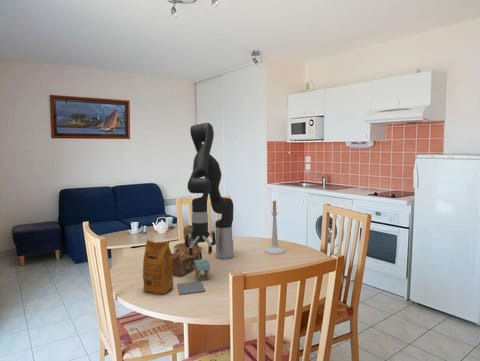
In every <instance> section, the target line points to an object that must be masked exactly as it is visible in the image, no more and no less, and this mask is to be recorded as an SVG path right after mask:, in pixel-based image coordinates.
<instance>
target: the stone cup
mask: <svg viewBox="0 0 480 361" xmlns="http://www.w3.org/2000/svg"><path fill="white" fill-rule="evenodd" d="M186 233H187V234H191V233H192V224H187V225H185V226H184V227H183V239H184V242H183V243H178V244H175V245H174V246H173V249H175V250H177V251H179V250H181V249H186V248H188V247H185V234H186ZM192 240H193V238H192V237H190V238H189V239H188V244H190V243H191V241H192ZM192 248H194V249H198V250H200V251H201V250H202V247H200V246H199V243H197V242H196V243H195V244H194V245H193V247H192Z"/></svg>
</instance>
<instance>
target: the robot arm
mask: <svg viewBox="0 0 480 361" xmlns="http://www.w3.org/2000/svg"><path fill="white" fill-rule="evenodd" d="M189 131H190V137H191V139H192V142H193V145H194V148H195V150H196V152H197V153H196V154H195V156H194V158H193V159H194V160H193V166H192V172H191V175H190V177H189V179H188V182H187V190H188V192H189V193H190V194H202V196H200V197H197V198H193V199H192V201H191V225H192V233H191V234H187V233H186V234H185V240H184V242H185V247H188V248H189V254H190V255H191V256H193V252H192V247H193V245H194V244H195V243H196V242H197V243H198V244H200V243H204V242H206V243H207V245H208V250H207V251H208V253H207V254H208V255H211V254H212V253H213V246H215V256H216V258H217V259H221V260H222V259H223V260H224V259H225V260H226V259H230V258H234V256H235V252H234V250H235V249H234V240H233V222H234V202H233V200H232V198H230V197H222V196H221V193H220V183H221V180H222V171H221V167H220V163H219V162H218V160H217V159H216V158H215V157H214V156H212V154H211V150H212V147H213V146H212V145H213V142H214V137H215V132H214V127H213V125H212V124H211V123H210V122H204V123H203V122H202V123H199V124H194V125H191V126H190V129H189ZM209 199H210V205H211V209H212V211H213V212H214V213H216V214H220V215H221V216H220V217H221V218H220V219H217V220H216V221H215V226H214V227H215V231H211V232H209V214H208V200H209ZM190 237H192V238H193V240H192V241H191V243H190V244H188V239H189V238H190ZM209 237H211V240H212V241H211V242H210V241H209V239H208V238H209Z"/></svg>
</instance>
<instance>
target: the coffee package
mask: <svg viewBox="0 0 480 361" xmlns="http://www.w3.org/2000/svg"><path fill="white" fill-rule="evenodd" d="M172 254H173V253H172V251H171V248H170V242H169V240H167V241H153V240H151V239H147V240H146V243H145V248H144V255H143V260H142V261H143V263H142V265H143V267H142V279H143V292H145V293H146V292H147V293H151V294H153V295H165V294H167V293H168V292H169V291H170V290H171V289H172V288H174V275H173V263H172V261H173V258H172Z"/></svg>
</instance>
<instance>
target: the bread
mask: <svg viewBox="0 0 480 361" xmlns="http://www.w3.org/2000/svg"><path fill="white" fill-rule="evenodd" d="M192 252H193V256H191V255H190V254H189V248H186V249H181V250H177V251H175V252H173V253H171V254H172V258H173V261H172V263H173V276H176V277H181V276H183V275H186V274H188V273H190V272H192V271H194V270H196V267H195V262H194V260H202V259H203V255H202V253H203V252H202V251H201V250H198V249H194V248H192Z"/></svg>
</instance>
